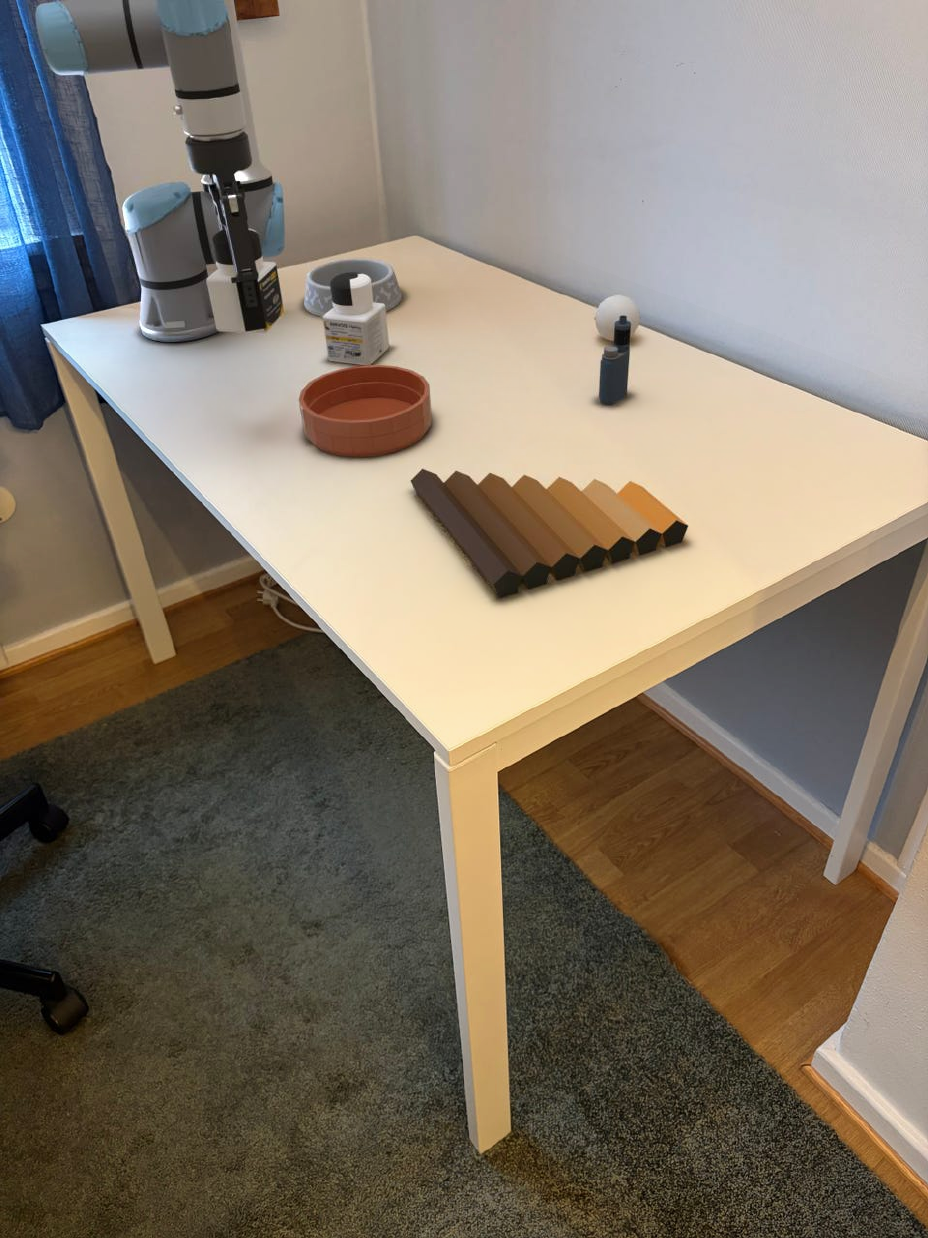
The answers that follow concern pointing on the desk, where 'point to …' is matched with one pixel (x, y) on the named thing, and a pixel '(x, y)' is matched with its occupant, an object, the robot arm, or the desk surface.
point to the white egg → (616, 315)
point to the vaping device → (615, 364)
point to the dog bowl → (321, 276)
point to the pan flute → (545, 525)
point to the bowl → (366, 410)
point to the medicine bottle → (226, 291)
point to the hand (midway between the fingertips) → (250, 315)
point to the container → (355, 321)
